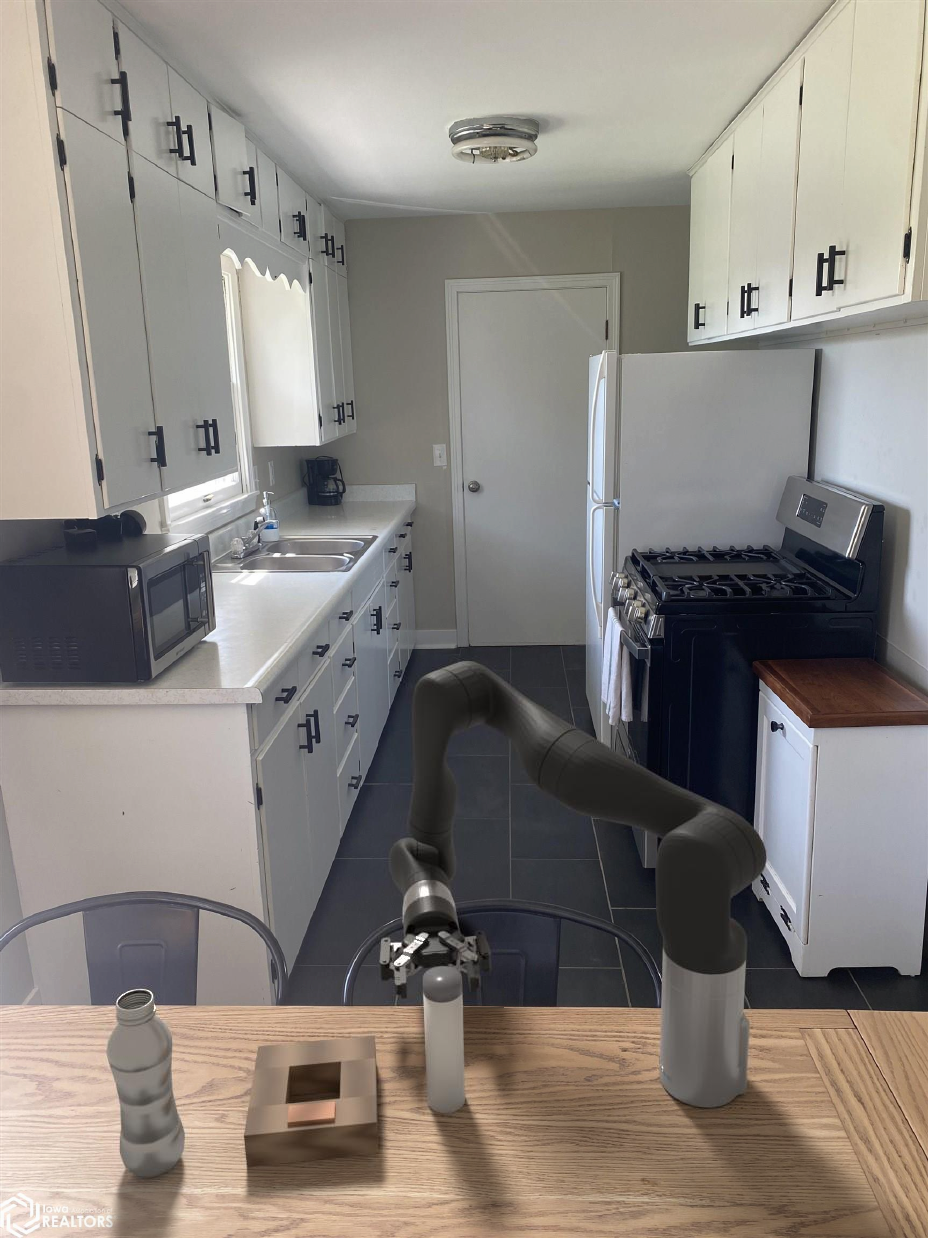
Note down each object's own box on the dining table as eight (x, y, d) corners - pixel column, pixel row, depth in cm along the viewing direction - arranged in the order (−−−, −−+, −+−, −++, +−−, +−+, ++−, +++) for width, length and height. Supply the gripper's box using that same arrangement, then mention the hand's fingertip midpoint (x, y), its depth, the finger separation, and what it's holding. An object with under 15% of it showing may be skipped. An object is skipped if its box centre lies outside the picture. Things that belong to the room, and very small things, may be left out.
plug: (463, 1084, 110) (459, 964, 107) (467, 1111, 106) (463, 988, 102) (426, 1087, 110) (421, 968, 106) (428, 1115, 106) (424, 991, 102)
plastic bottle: (168, 1191, 96) (148, 1023, 92) (109, 1182, 98) (87, 1016, 93) (197, 1143, 102) (180, 984, 98) (142, 1135, 104) (122, 977, 99)
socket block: (376, 1064, 114) (374, 1032, 113) (378, 1153, 100) (376, 1119, 99) (260, 1075, 113) (257, 1043, 112) (246, 1167, 99) (243, 1132, 98)
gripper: (377, 898, 128) (379, 967, 112) (480, 890, 129) (495, 957, 114) (380, 946, 130) (382, 1021, 114) (481, 938, 131) (496, 1011, 115)
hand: (438, 989), depth 114 cm, fingers open, 8 cm apart
